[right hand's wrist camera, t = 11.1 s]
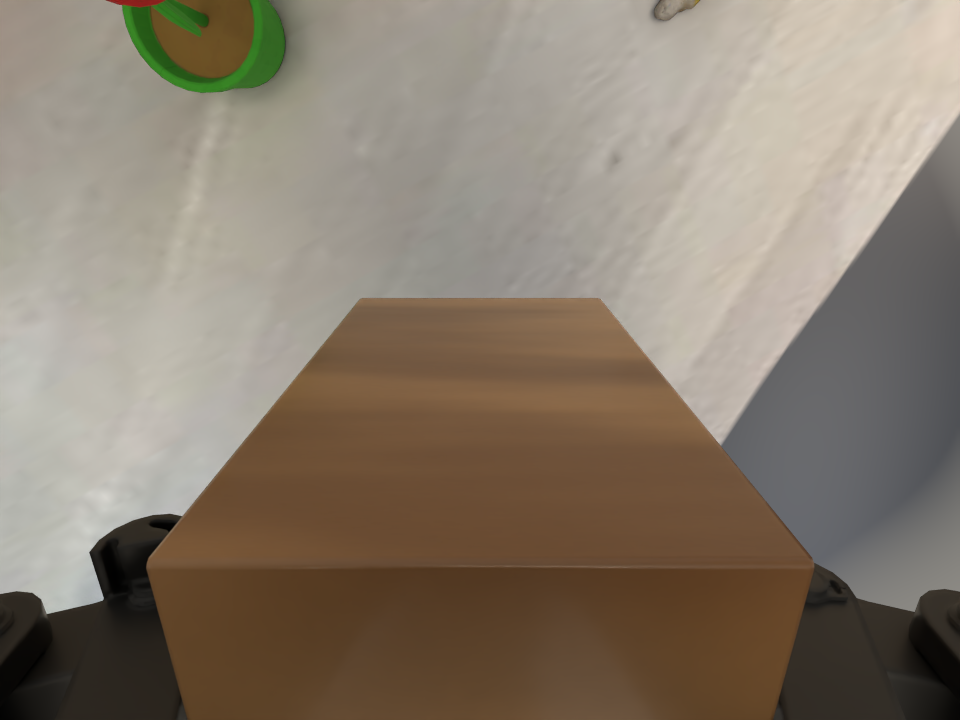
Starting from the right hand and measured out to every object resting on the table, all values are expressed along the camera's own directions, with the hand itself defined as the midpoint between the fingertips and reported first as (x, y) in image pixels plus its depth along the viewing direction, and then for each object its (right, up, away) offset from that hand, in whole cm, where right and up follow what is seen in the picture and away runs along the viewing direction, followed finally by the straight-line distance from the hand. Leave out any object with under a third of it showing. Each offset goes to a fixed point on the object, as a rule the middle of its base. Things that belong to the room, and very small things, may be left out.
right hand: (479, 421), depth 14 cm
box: (0, -8, +4) cm, 9 cm away
